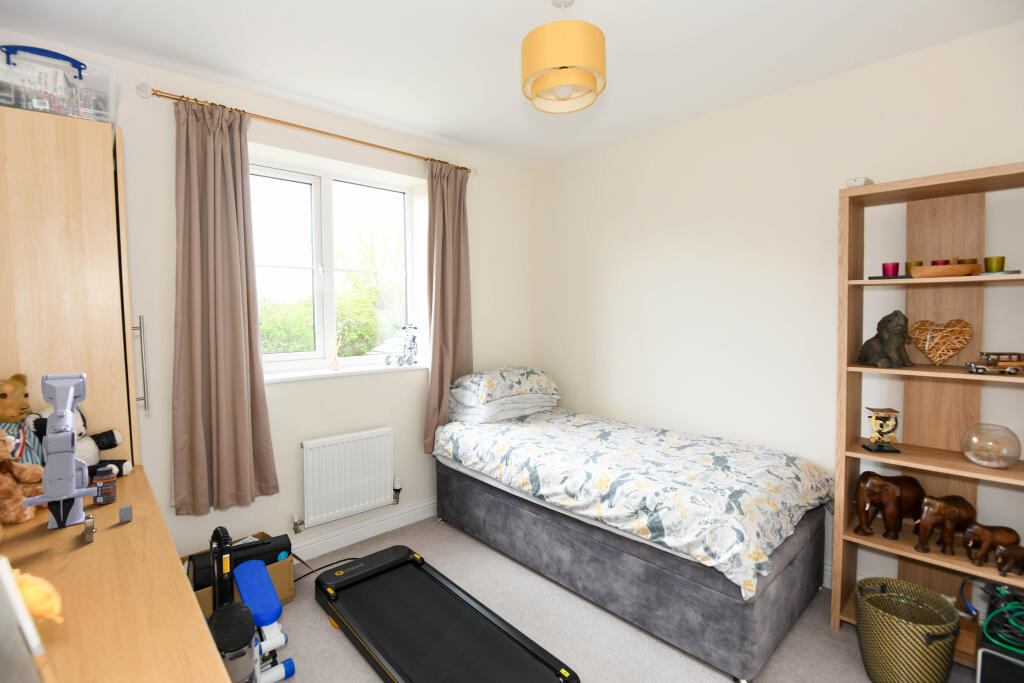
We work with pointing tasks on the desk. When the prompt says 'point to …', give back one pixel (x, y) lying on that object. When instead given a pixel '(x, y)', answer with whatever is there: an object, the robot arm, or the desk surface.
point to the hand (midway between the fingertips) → (61, 527)
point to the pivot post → (85, 523)
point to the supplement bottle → (105, 486)
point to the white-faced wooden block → (125, 513)
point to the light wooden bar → (89, 530)
